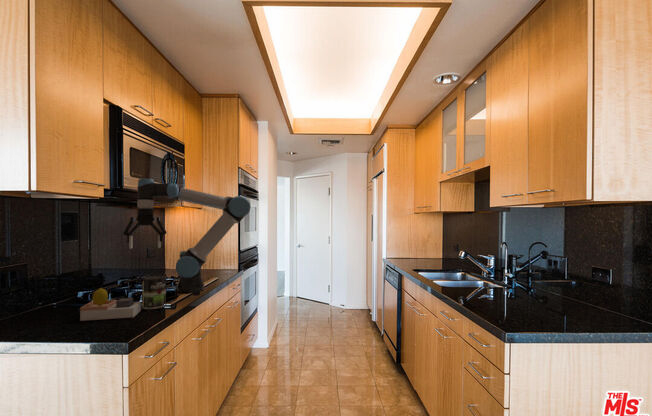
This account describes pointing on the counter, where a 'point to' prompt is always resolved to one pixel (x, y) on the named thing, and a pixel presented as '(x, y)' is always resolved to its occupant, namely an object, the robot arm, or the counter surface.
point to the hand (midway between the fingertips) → (145, 248)
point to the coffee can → (154, 292)
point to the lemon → (100, 297)
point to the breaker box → (108, 311)
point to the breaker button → (124, 302)
